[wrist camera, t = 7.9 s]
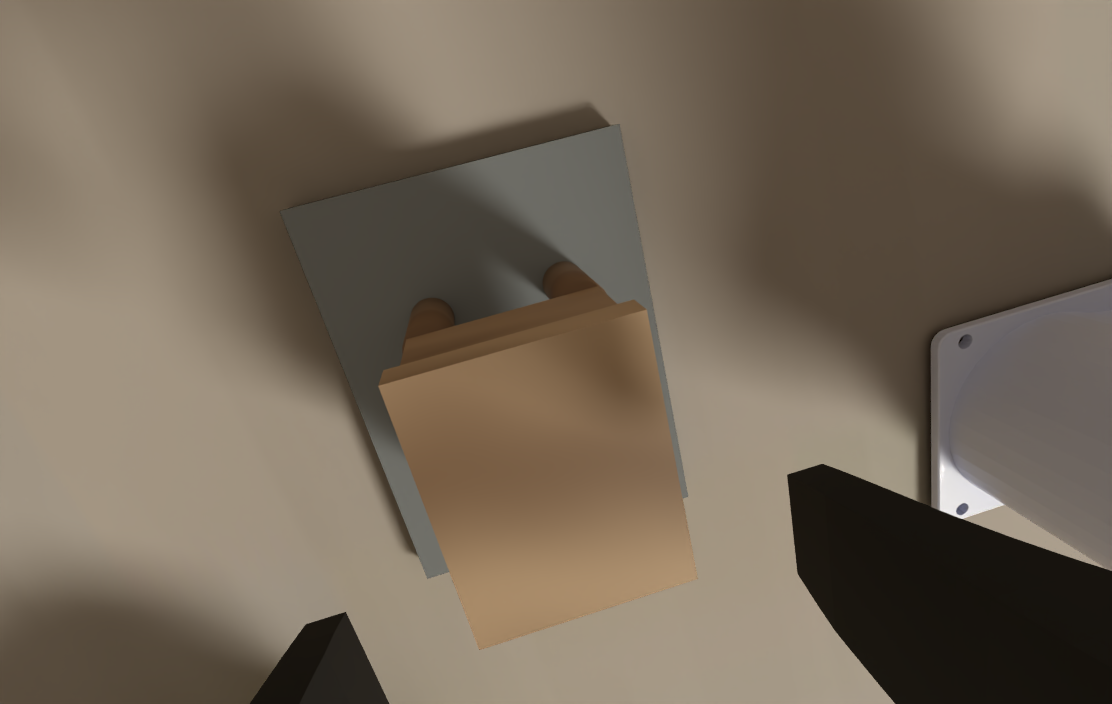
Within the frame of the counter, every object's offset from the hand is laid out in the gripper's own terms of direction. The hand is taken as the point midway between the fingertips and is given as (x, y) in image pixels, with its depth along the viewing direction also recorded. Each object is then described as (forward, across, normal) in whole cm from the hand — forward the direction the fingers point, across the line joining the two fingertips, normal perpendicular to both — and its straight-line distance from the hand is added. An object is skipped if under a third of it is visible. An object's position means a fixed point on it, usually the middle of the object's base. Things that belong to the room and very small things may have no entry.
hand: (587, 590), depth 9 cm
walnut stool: (+9, 0, 0) cm, 9 cm away
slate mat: (+9, 0, 0) cm, 9 cm away
